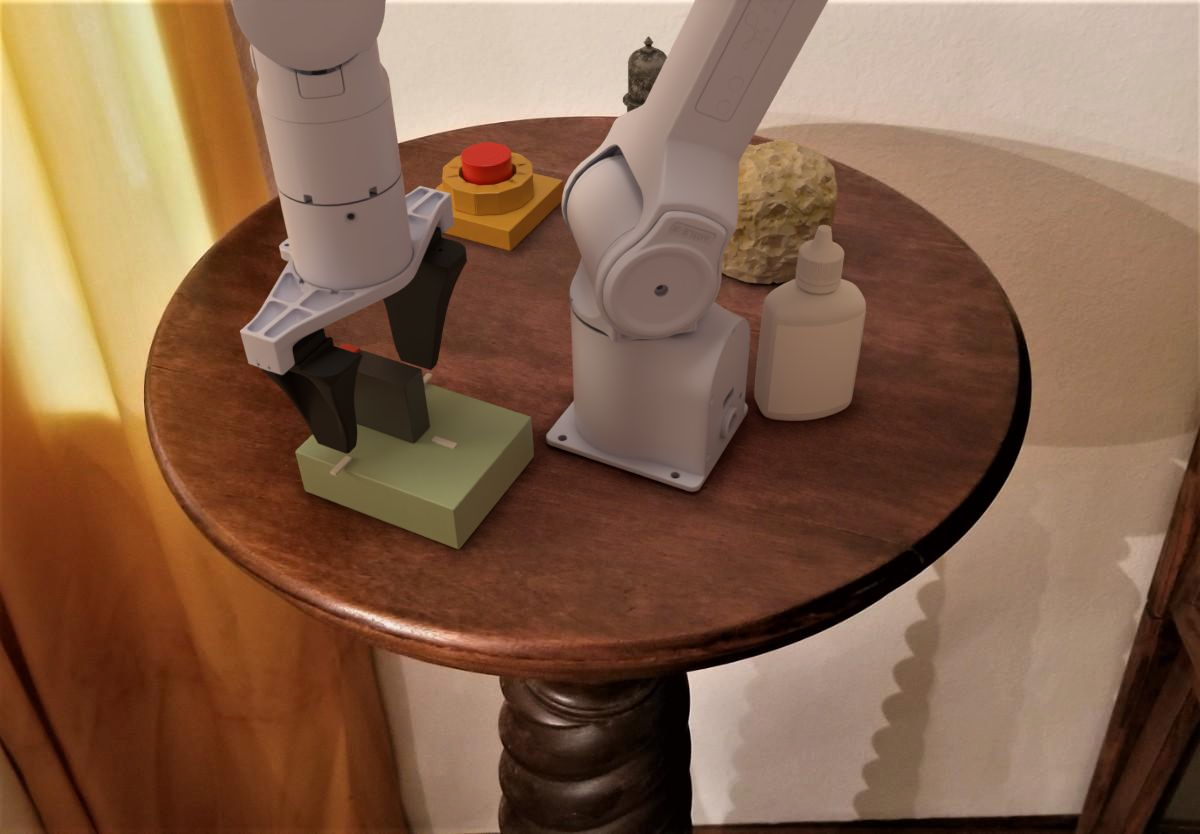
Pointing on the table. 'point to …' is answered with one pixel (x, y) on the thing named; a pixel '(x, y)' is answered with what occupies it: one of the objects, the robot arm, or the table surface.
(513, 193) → the button box
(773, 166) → the coral
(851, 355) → the eye dropper bottle
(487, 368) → the table surface
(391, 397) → the knob
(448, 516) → the panel
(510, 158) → the button
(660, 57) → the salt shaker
